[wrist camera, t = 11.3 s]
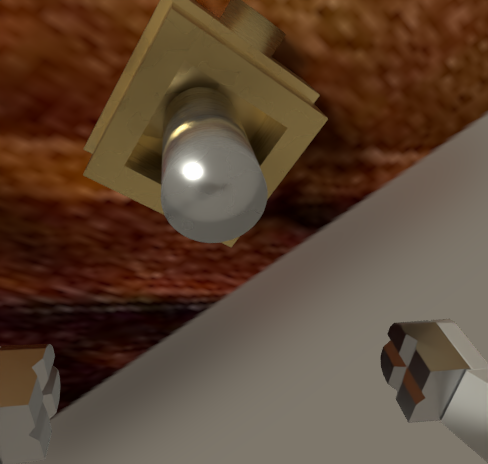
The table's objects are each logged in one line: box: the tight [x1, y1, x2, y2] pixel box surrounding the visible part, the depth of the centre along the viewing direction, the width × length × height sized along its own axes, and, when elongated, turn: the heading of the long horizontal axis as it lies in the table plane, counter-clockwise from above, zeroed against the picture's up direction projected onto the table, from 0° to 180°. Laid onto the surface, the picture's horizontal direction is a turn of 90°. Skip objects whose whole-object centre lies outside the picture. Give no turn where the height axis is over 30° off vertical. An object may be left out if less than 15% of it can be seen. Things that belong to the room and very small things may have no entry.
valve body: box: [83, 0, 328, 247], centre depth 25 cm, size 13×10×8 cm
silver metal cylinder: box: [161, 87, 268, 243], centre depth 22 cm, size 4×4×9 cm
